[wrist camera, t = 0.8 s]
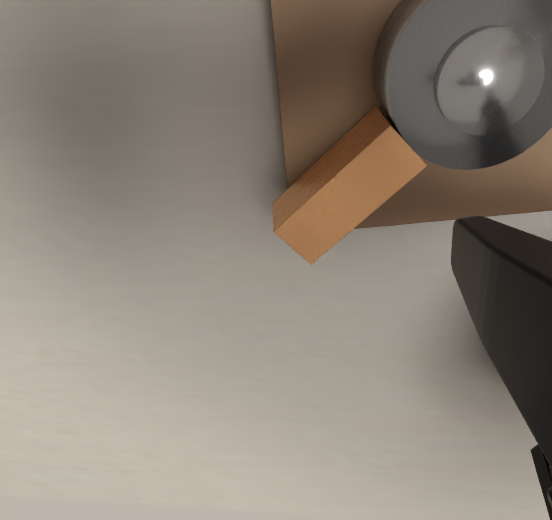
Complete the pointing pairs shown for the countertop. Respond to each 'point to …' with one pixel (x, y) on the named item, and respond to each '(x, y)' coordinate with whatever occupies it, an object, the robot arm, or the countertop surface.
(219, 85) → the countertop surface
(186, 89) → the countertop surface
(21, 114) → the countertop surface
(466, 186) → the base plate
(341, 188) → the metal and wood piece
